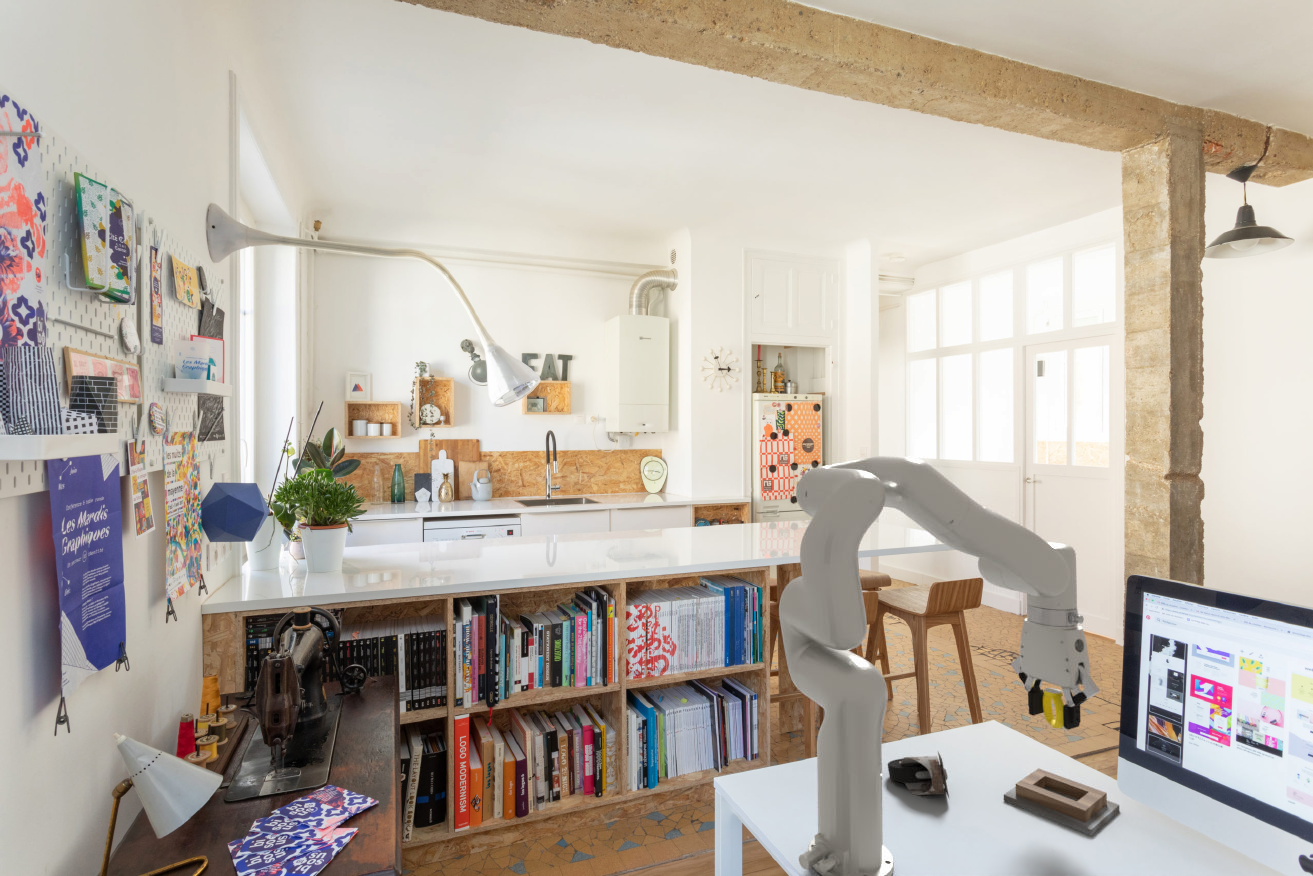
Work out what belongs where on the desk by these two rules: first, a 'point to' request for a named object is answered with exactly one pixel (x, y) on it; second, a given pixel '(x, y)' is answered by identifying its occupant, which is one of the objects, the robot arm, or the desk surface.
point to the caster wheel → (920, 774)
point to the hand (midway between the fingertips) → (1053, 719)
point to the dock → (1063, 801)
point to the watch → (1058, 703)
